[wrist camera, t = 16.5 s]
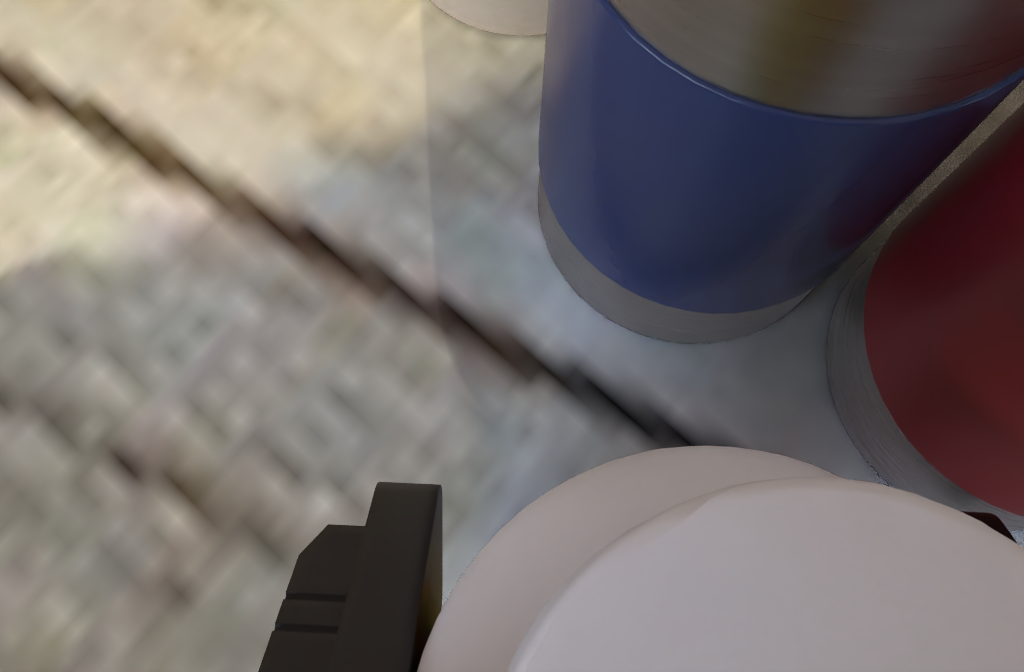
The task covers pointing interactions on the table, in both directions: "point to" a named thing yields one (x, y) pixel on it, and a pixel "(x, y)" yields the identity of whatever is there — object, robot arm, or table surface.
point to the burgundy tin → (943, 340)
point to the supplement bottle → (734, 576)
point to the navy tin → (748, 143)
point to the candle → (500, 15)
